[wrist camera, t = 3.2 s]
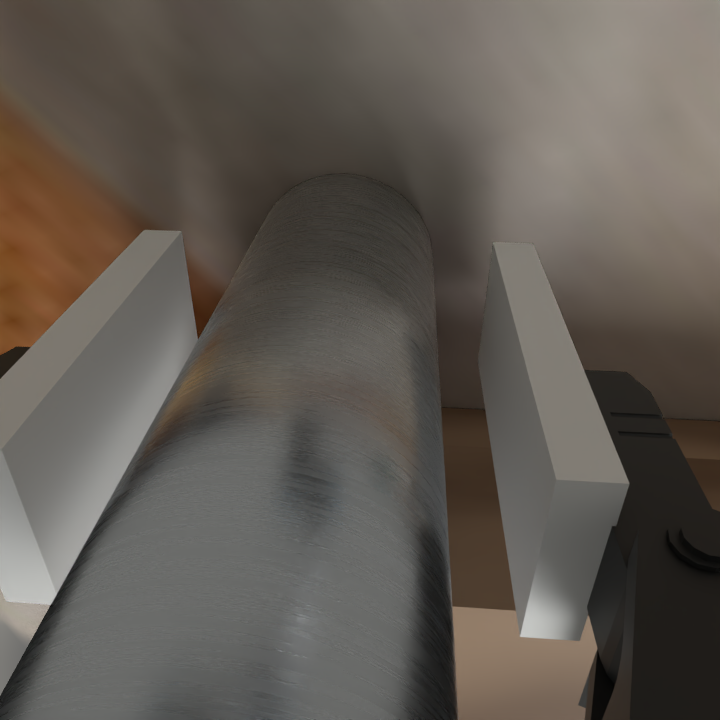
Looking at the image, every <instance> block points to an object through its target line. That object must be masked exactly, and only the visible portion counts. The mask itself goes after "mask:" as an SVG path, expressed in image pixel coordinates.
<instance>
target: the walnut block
mask: <svg viewBox="0 0 720 720" xmlns="http://www.w3.org/2000/svg"><path fill="white" fill-rule="evenodd" d="M441 412H442V430H443V448H444V465H445V483H446V501H447V519H448V537H449V555H450V572H451V590H452V608H453V626H454V644H455V662H456V679H457V697H458V715H459V720H585V712H586V708H584V707H581V706H579V705H578V703H579V701H580V698H581V695H582V692H583V689H584V686H585V683H586V680H587V677H588V674H589V672H590V669H591V666H592V663H593V660H594V657H595V654H596V651H597V645H596V641H595V637H594V633H593V629H592V625H591V622H590V618H589V614H588V617H587V620H586V623H585V626H584V629H583V632H582V635H581V639H580V641H572V640H557V639H543V638H528V637H520V634H519V628H518V621H517V615H516V608H515V602H514V595H513V589H512V582H511V575H510V569H509V562H508V556H507V549H506V543H505V536H504V529H503V523H502V516H501V510H500V503H499V497H498V490H497V484H496V477H495V470H494V464H493V457H492V451H491V444H490V438H489V431H488V424H487V418H486V411H485V410H478V409H458V408H441ZM665 421H666V422H667V424H668V426H669V428H670V430H671V432H672V438H673V439H676V441H677V443H678V445H679V447H680V449H681V451H682V453H683V454H684V456H685V458H686V460H687V462H688V464H689V466H690V468H691V469H692V471H693V473H694V475H695V477H696V479H697V481H698V483H699V485H700V486H701V488H702V490H703V492H704V494H705V496H706V498H707V500H708V502H709V503H710V505H711V507H712V509H714V510H717V511H720V421H702V420H682V419H665Z"/></svg>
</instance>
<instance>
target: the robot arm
mask: <svg viewBox="0 0 720 720" xmlns="http://www.w3.org/2000/svg"><path fill="white" fill-rule="evenodd" d="M197 341H198V337H197V330H196V324H195V317H194V310H193V304H192V297H191V290H190V283H189V277H188V270H187V263H186V257H185V250H184V243H183V237H182V231H163V230H143V231H142V232H141V234H140V235H139V236H138V237H137V238H136V239H135V240H134V241H133V242H132V243H131V244H130V245H129V246H128V247H127V248H126V249H125V250H124V251H123V252H122V253H121V254H120V255H119V256H118V257H117V258H116V259H115V260H114V262H113V263H112V264H111V265H110V266H109V267H108V268H107V269H106V270H105V271H104V272H103V273H102V274H101V275H100V276H99V277H98V278H97V279H96V280H95V281H94V282H93V283H92V284H91V285H90V286H89V287H88V288H87V290H86V291H85V292H84V293H83V294H82V295H81V296H80V297H79V298H78V299H77V300H76V301H75V302H74V303H73V304H72V305H71V306H70V307H69V308H68V309H67V310H66V311H65V312H64V313H63V314H62V315H61V316H60V318H59V319H58V320H57V321H56V322H55V323H54V324H53V325H52V326H51V327H50V328H49V329H48V330H47V331H46V332H45V333H44V334H43V335H42V336H41V337H40V338H39V339H38V340H37V341H36V342H35V343H34V344H33V346H32V347H15V348H13V349H11V350H9V351H8V352H6V353H4V354H2V355H0V588H1V591H2V593H3V595H4V597H5V599H6V602H19V603H33V604H48V605H51V604H52V602H53V600H54V598H55V597H56V595H57V593H58V591H59V589H60V588H61V586H62V584H63V582H64V580H65V579H66V577H67V575H68V573H69V571H70V570H71V568H72V566H73V564H74V562H75V561H76V559H77V557H78V555H79V553H80V552H81V550H82V548H83V546H84V544H85V543H86V541H87V539H88V537H89V535H90V534H91V532H92V530H93V528H94V526H95V525H96V523H97V521H98V519H99V517H100V516H101V514H102V512H103V510H104V508H105V507H106V505H107V503H108V501H109V499H110V498H111V496H112V494H113V492H114V490H115V489H116V487H117V485H118V483H119V481H120V480H121V478H122V476H123V474H124V472H125V471H126V469H127V467H128V465H129V463H130V462H131V460H132V458H133V456H134V454H135V453H136V451H137V449H138V447H139V445H140V444H141V442H142V440H143V438H144V436H145V435H146V433H147V431H148V429H149V427H150V426H151V424H152V422H153V420H154V418H155V416H156V415H157V413H158V411H159V409H160V407H161V406H162V404H163V402H164V400H165V398H166V397H167V395H168V393H169V391H170V389H171V388H172V386H173V384H174V382H175V380H176V379H177V377H178V375H179V373H180V371H181V370H182V368H183V366H184V364H185V362H186V361H187V359H188V357H189V355H190V353H191V352H192V350H193V348H194V346H195V344H196V343H197ZM478 365H479V372H480V379H481V385H482V392H483V398H484V405H485V411H486V418H487V424H488V431H489V438H490V444H491V451H492V457H493V464H494V470H495V477H496V484H497V490H498V497H499V503H500V510H501V516H502V523H503V529H504V536H505V543H506V549H507V556H508V562H509V569H510V575H511V582H512V589H513V595H514V602H515V608H516V615H517V621H518V628H519V634H520V637H528V638H543V639H557V640H572V641H580V639H581V635H582V632H583V629H584V626H585V623H586V620H587V617H588V614H589V618H590V622H591V625H592V629H593V633H594V637H595V641H596V645H597V651H596V654H595V657H594V660H593V663H592V666H591V669H590V672H589V674H588V677H587V680H586V683H585V686H584V689H583V692H582V695H581V698H580V701H579V703H578V705H579V706H581V707H584V708H586V712H585V720H720V511H717V510H714V509H712V507H711V505H710V503H709V502H708V500H707V498H706V496H705V494H704V492H703V490H702V488H701V486H700V485H699V483H698V481H697V479H696V477H695V475H694V473H693V471H692V469H691V468H690V466H689V464H688V462H687V460H686V458H685V456H684V454H683V453H682V451H681V449H680V447H679V445H678V443H677V441H676V439H673V438H672V432H671V430H670V428H669V426H668V424H667V422H666V421H665V419H662V413H661V411H660V409H659V407H658V405H657V404H656V402H655V400H654V398H653V396H652V394H651V392H650V391H648V390H647V389H646V388H645V387H644V386H642V385H641V384H640V383H639V382H638V381H636V380H635V379H634V378H633V377H632V376H630V375H629V374H628V373H627V372H613V371H591V370H584V369H583V366H582V364H581V361H580V359H579V356H578V354H577V351H576V349H575V346H574V344H573V341H572V339H571V336H570V334H569V331H568V329H567V326H566V324H565V321H564V319H563V317H562V314H561V312H560V309H559V307H558V304H557V302H556V299H555V297H554V294H553V292H552V289H551V287H550V284H549V282H548V279H547V277H546V274H545V272H544V269H543V267H542V264H541V262H540V259H539V257H538V254H537V252H536V249H535V247H534V244H533V243H511V242H493V246H492V254H491V262H490V270H489V278H488V286H487V294H486V302H485V310H484V318H483V325H482V333H481V341H480V349H479V357H478Z"/></svg>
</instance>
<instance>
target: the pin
mask: <svg viewBox="0 0 720 720" xmlns="http://www.w3.org/2000/svg"><path fill="white" fill-rule="evenodd" d="M0 720H459V715H458V697H457V679H456V662H455V644H454V626H453V608H452V590H451V572H450V555H449V537H448V519H447V501H446V483H445V465H444V448H443V430H442V412H441V394H440V376H439V359H438V341H437V323H436V305H435V287H434V269H433V253H432V246H431V241H430V237H429V234H428V231H427V229H426V227H425V224H424V222H423V220H422V219H421V217H420V216H419V214H418V212H417V211H416V210H415V209H414V207H413V206H412V205H411V204H410V203H409V202H408V201H407V200H406V199H405V198H404V197H403V196H402V195H401V194H399V193H398V192H396V191H395V190H393V189H392V188H391V187H389V186H387V185H385V184H383V183H381V182H379V181H376V180H373V179H371V178H367V177H363V176H359V175H351V174H331V175H325V176H319V177H316V178H313V179H310V180H307V181H305V182H303V183H301V184H299V185H297V186H295V187H294V188H292V189H291V190H289V191H288V192H287V193H286V194H284V195H283V196H282V197H281V198H280V199H279V200H278V201H277V202H276V204H275V205H274V206H273V207H272V209H271V210H270V212H269V213H268V215H267V217H266V218H265V220H264V222H263V224H262V226H261V227H260V229H259V231H258V233H257V235H256V236H255V238H254V240H253V242H252V244H251V245H250V247H249V249H248V251H247V253H246V254H245V256H244V258H243V260H242V262H241V263H240V265H239V267H238V269H237V271H236V272H235V274H234V276H233V278H232V280H231V281H230V283H229V285H228V287H227V289H226V290H225V292H224V294H223V296H222V298H221V299H220V301H219V303H218V305H217V307H216V308H215V310H214V312H213V314H212V316H211V317H210V319H209V321H208V323H207V325H206V326H205V328H204V330H203V332H202V334H201V335H200V337H199V339H198V341H197V343H196V344H195V346H194V348H193V350H192V352H191V353H190V355H189V357H188V359H187V361H186V362H185V364H184V366H183V368H182V370H181V371H180V373H179V375H178V377H177V379H176V380H175V382H174V384H173V386H172V388H171V389H170V391H169V393H168V395H167V397H166V398H165V400H164V402H163V404H162V406H161V407H160V409H159V411H158V413H157V415H156V416H155V418H154V420H153V422H152V424H151V426H150V427H149V429H148V431H147V433H146V435H145V436H144V438H143V440H142V442H141V444H140V445H139V447H138V449H137V451H136V453H135V454H134V456H133V458H132V460H131V462H130V463H129V465H128V467H127V469H126V471H125V472H124V474H123V476H122V478H121V480H120V481H119V483H118V485H117V487H116V489H115V490H114V492H113V494H112V496H111V498H110V499H109V501H108V503H107V505H106V507H105V508H104V510H103V512H102V514H101V516H100V517H99V519H98V521H97V523H96V525H95V526H94V528H93V530H92V532H91V534H90V535H89V537H88V539H87V541H86V543H85V544H84V546H83V548H82V550H81V552H80V553H79V555H78V557H77V559H76V561H75V562H74V564H73V566H72V568H71V570H70V571H69V573H68V575H67V577H66V579H65V580H64V582H63V584H62V586H61V588H60V589H59V591H58V593H57V595H56V597H55V598H54V600H53V602H52V604H51V606H50V607H49V609H48V611H47V613H46V615H45V616H44V618H43V620H42V622H41V624H40V625H39V627H38V629H37V631H36V633H35V634H34V636H33V638H32V640H31V642H30V643H29V645H28V647H27V649H26V651H25V652H24V654H23V656H22V658H21V660H20V661H19V663H18V665H17V667H16V669H15V671H14V672H13V674H12V676H11V678H10V679H9V681H8V683H7V685H6V687H5V688H4V690H3V692H2V694H1V696H0Z"/></svg>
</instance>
